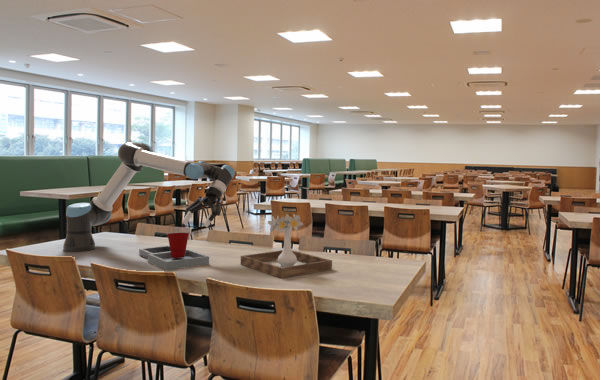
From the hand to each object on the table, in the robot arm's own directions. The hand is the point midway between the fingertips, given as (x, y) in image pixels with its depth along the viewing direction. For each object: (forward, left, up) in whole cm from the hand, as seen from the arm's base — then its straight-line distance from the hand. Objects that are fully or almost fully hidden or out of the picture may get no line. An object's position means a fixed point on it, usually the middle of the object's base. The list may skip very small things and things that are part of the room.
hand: (194, 224), depth 233 cm
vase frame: (+39, +25, -17) cm, 49 cm away
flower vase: (+39, +25, -17) cm, 49 cm away
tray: (+4, -10, -17) cm, 20 cm away
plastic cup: (0, -9, -15) cm, 17 cm away
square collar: (-16, -10, -17) cm, 25 cm away
